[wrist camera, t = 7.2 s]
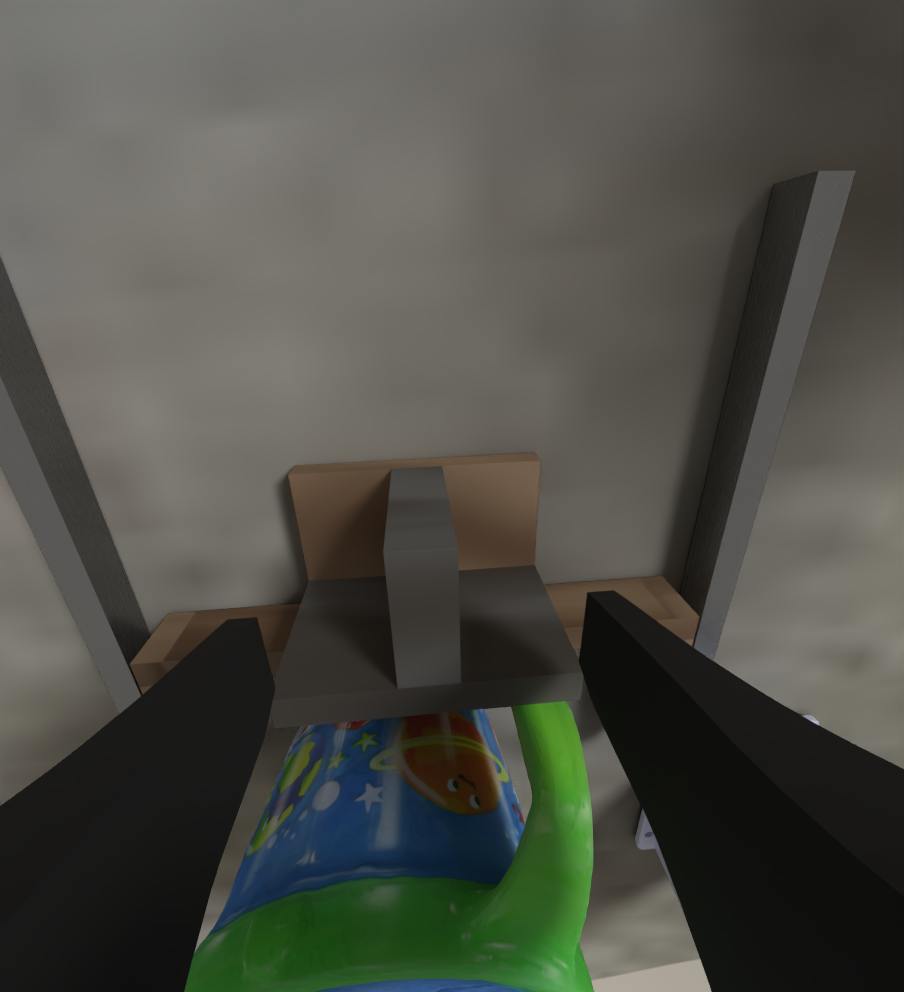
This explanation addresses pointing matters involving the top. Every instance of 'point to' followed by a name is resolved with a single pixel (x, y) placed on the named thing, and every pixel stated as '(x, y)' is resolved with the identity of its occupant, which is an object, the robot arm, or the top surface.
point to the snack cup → (413, 863)
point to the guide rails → (724, 505)
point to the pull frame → (417, 597)
